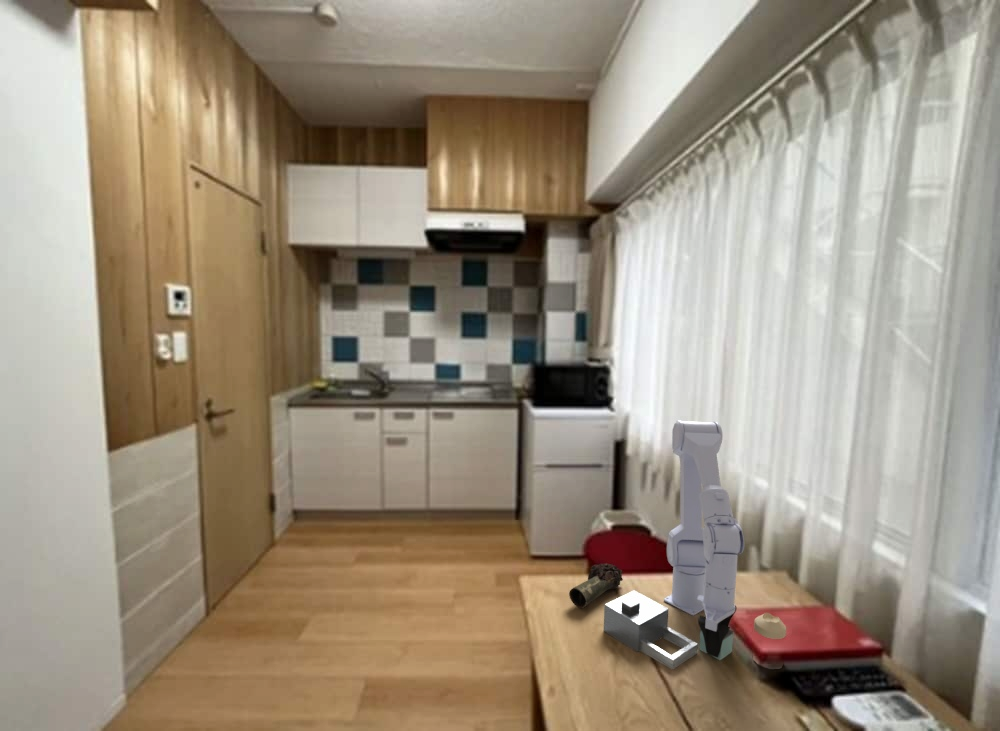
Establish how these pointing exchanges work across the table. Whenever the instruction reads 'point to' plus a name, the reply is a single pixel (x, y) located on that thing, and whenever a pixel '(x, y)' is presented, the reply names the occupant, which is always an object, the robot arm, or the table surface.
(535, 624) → the table surface
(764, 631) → the candle
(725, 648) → the mint cube
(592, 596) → the olive hollow tube
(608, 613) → the silver box with frame
